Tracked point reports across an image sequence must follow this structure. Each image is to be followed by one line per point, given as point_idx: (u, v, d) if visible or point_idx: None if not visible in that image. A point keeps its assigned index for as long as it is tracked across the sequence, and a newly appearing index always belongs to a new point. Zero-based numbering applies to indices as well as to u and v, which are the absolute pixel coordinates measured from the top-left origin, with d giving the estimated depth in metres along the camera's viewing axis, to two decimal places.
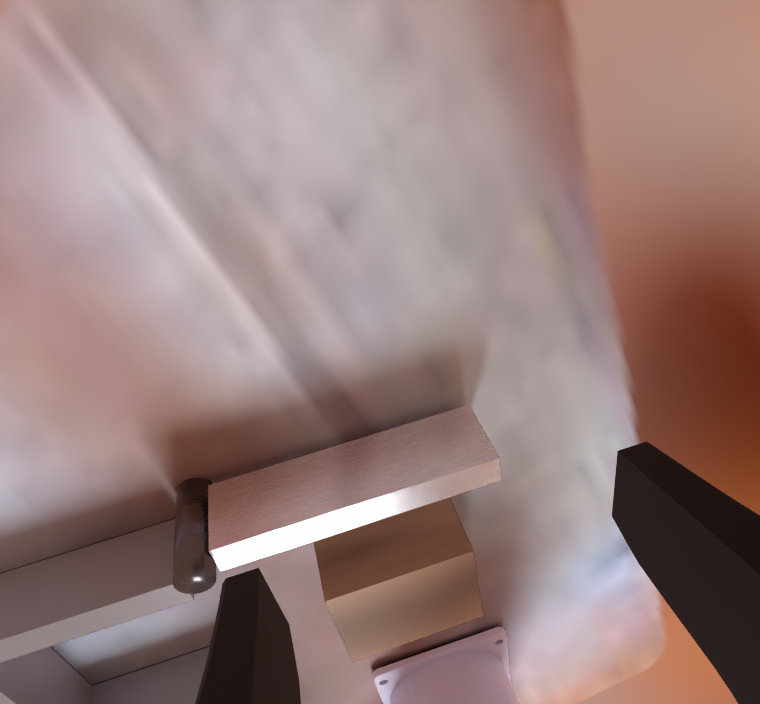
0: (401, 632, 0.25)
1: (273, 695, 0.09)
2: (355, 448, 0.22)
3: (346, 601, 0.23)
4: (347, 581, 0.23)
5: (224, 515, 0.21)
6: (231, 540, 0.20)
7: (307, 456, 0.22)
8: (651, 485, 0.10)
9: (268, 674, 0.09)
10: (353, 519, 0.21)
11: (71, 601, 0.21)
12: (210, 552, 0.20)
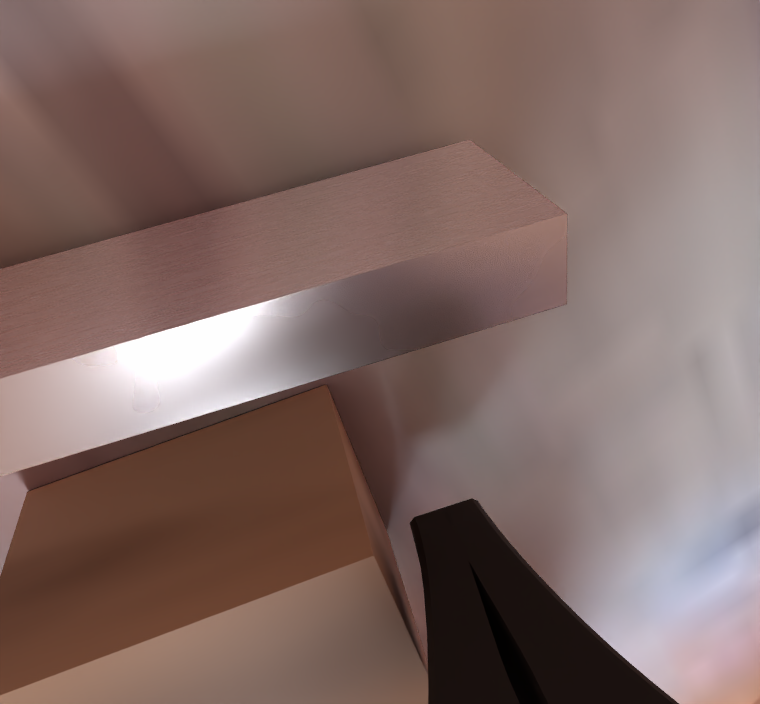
0: None
1: None
2: (157, 238, 0.08)
3: None
4: (36, 649, 0.08)
5: None
6: None
7: (30, 262, 0.08)
8: (460, 549, 0.10)
9: None
10: (101, 410, 0.07)
11: None
12: None
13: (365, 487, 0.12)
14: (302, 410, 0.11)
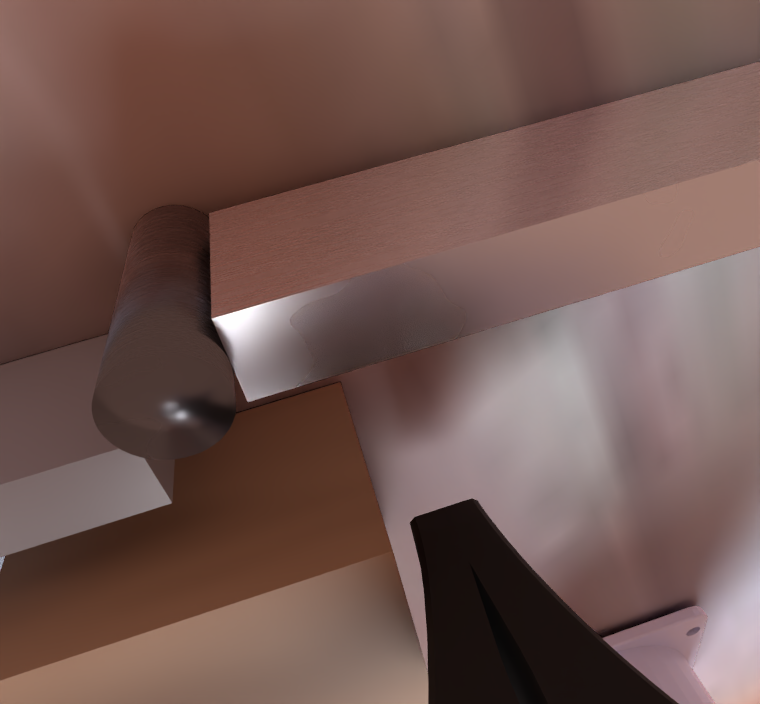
0: None
1: None
2: (586, 120, 0.09)
3: (38, 690, 0.08)
4: (43, 634, 0.08)
5: (256, 250, 0.07)
6: (282, 292, 0.06)
7: (461, 145, 0.09)
8: (459, 549, 0.10)
9: None
10: (635, 252, 0.07)
11: None
12: (217, 325, 0.06)
13: None
14: (316, 407, 0.11)
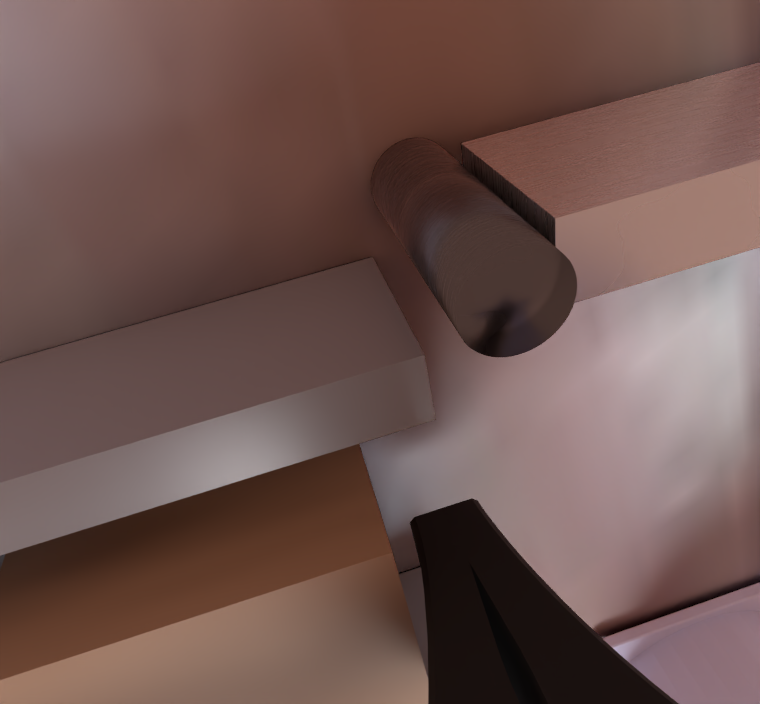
0: None
1: None
2: None
3: (36, 690, 0.08)
4: (43, 633, 0.08)
5: (548, 167, 0.08)
6: (612, 196, 0.07)
7: (698, 80, 0.09)
8: (459, 549, 0.10)
9: None
10: None
11: (125, 413, 0.08)
12: (556, 225, 0.07)
13: None
14: None
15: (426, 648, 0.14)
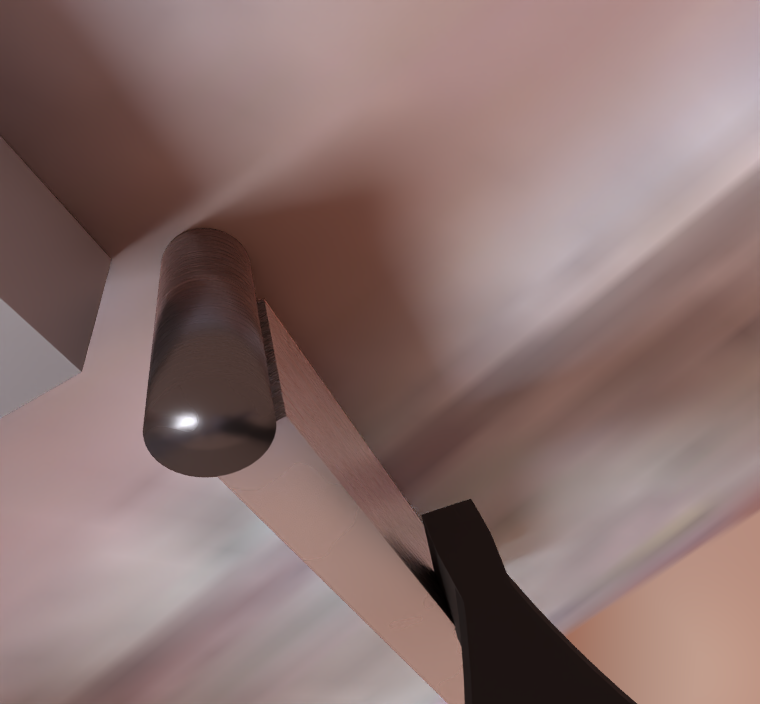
0: None
1: None
2: (403, 504, 0.13)
3: None
4: None
5: (295, 383, 0.09)
6: (312, 445, 0.08)
7: (365, 443, 0.12)
8: (438, 556, 0.10)
9: None
10: (390, 611, 0.10)
11: None
12: (279, 420, 0.07)
13: None
14: None
15: None
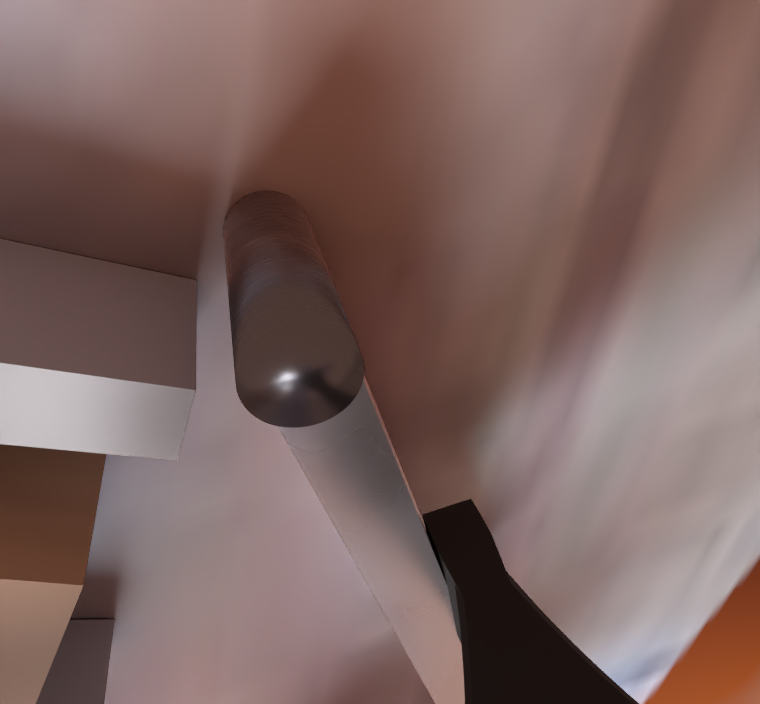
0: None
1: None
2: (413, 498, 0.13)
3: None
4: None
5: None
6: None
7: None
8: (439, 556, 0.10)
9: None
10: (405, 598, 0.10)
11: None
12: None
13: None
14: None
15: None
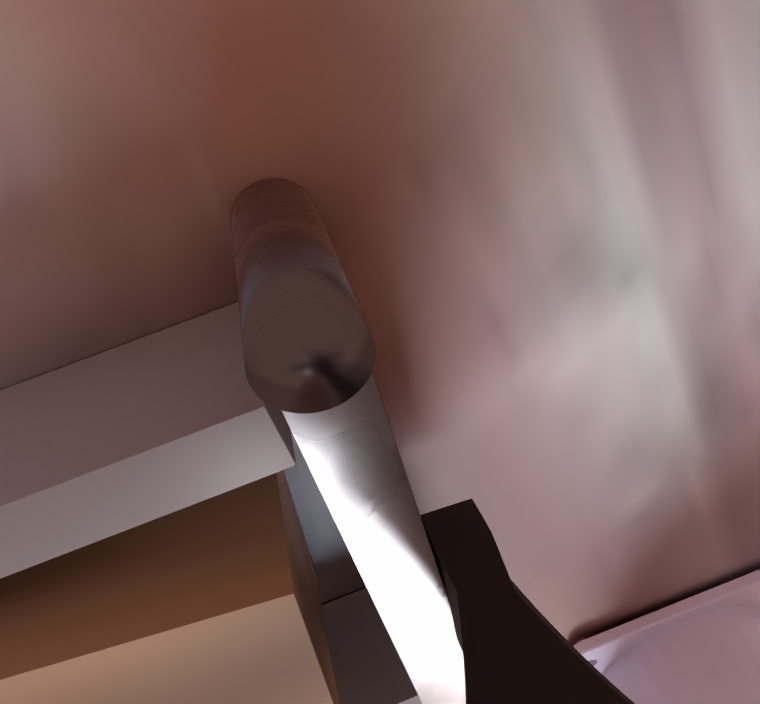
0: None
1: None
2: None
3: None
4: None
5: None
6: None
7: None
8: (437, 556, 0.10)
9: None
10: (401, 596, 0.10)
11: None
12: None
13: (296, 523, 0.13)
14: None
15: (371, 670, 0.14)
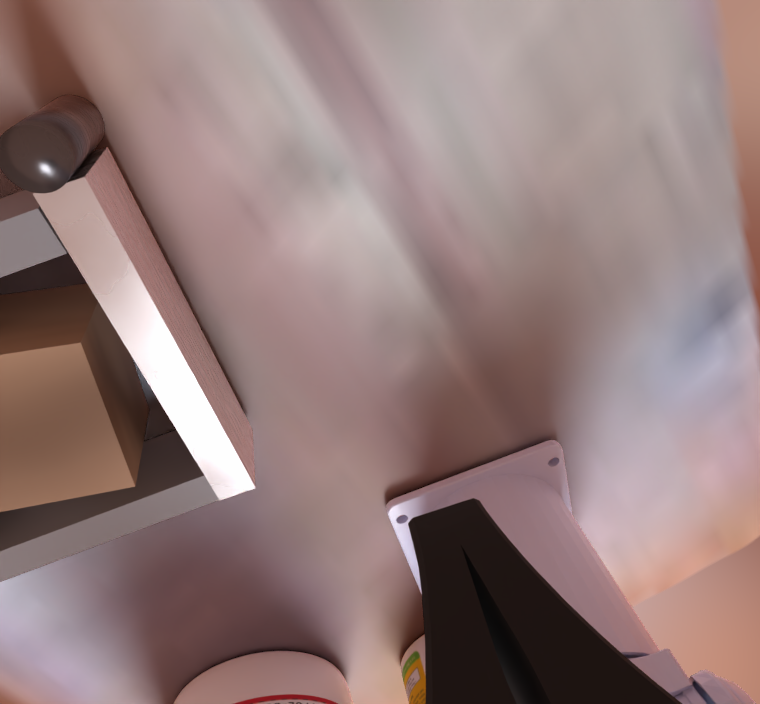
0: None
1: None
2: (196, 329, 0.18)
3: None
4: None
5: (107, 185, 0.15)
6: (102, 207, 0.14)
7: (172, 274, 0.18)
8: (461, 548, 0.10)
9: None
10: (154, 360, 0.16)
11: None
12: (80, 179, 0.13)
13: (124, 353, 0.19)
14: (84, 287, 0.18)
15: (182, 464, 0.20)
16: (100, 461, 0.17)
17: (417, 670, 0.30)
